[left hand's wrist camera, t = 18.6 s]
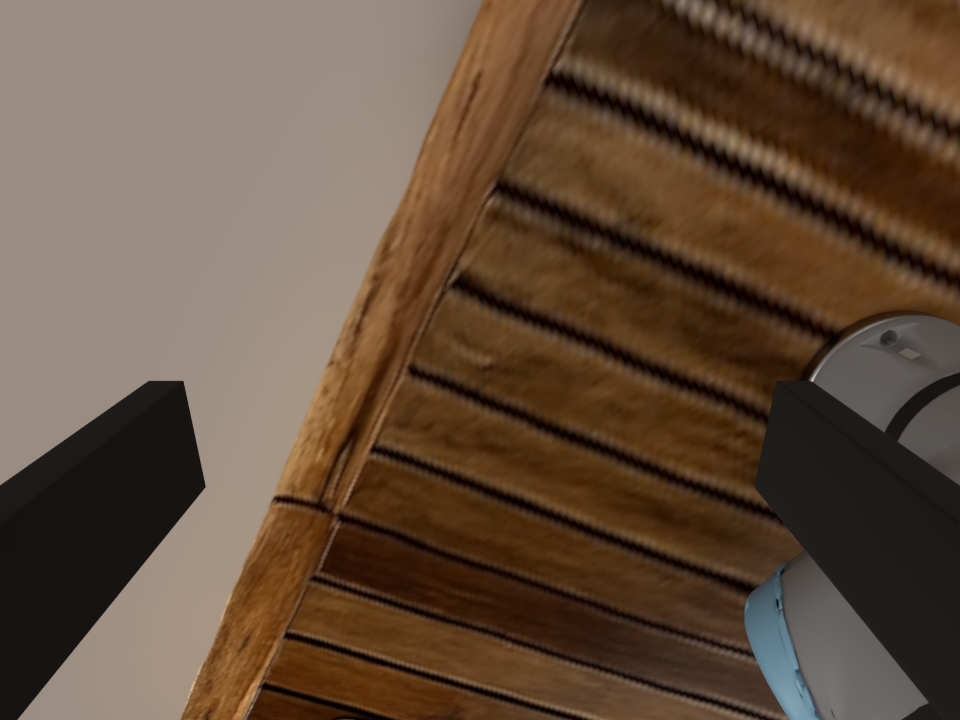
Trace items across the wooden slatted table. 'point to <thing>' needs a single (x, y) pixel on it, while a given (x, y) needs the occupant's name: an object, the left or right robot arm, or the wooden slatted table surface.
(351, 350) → the wooden slatted table surface
